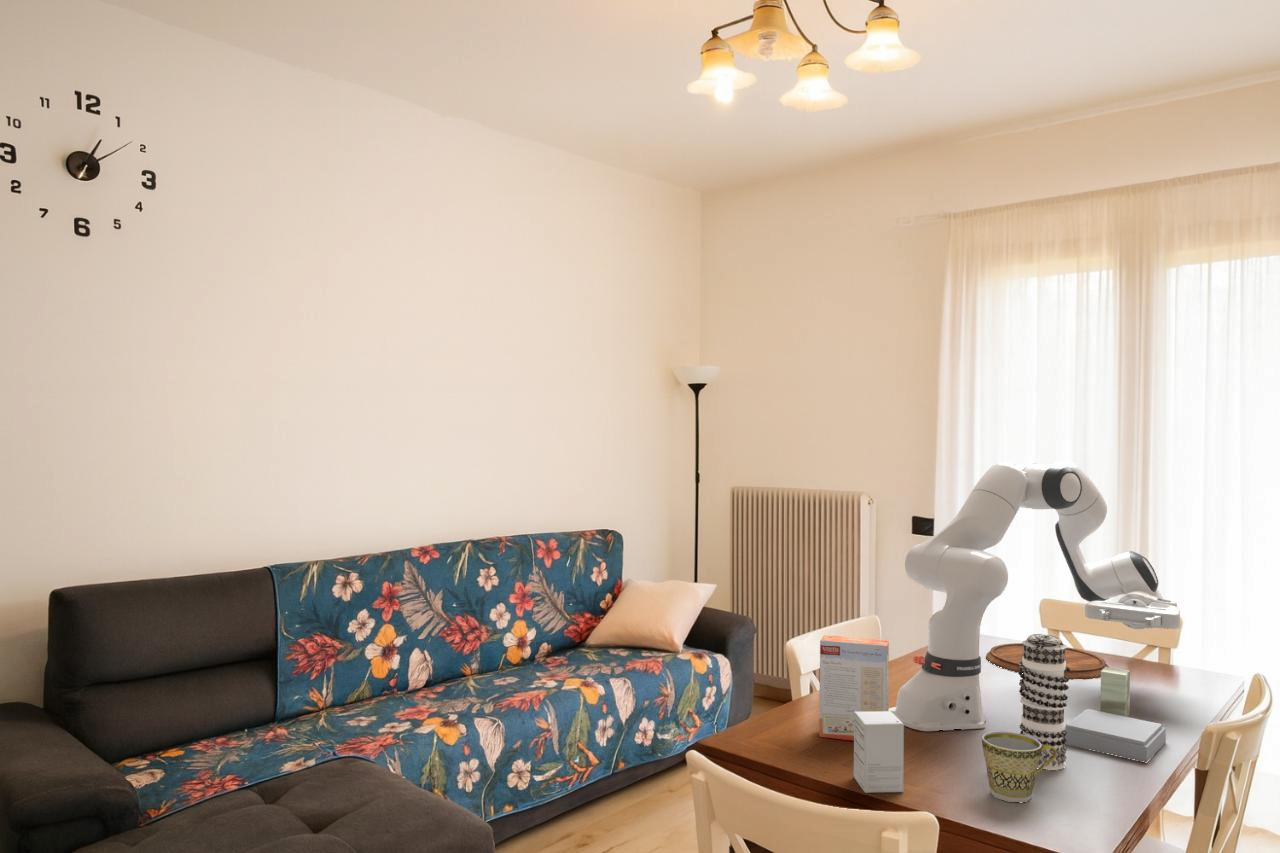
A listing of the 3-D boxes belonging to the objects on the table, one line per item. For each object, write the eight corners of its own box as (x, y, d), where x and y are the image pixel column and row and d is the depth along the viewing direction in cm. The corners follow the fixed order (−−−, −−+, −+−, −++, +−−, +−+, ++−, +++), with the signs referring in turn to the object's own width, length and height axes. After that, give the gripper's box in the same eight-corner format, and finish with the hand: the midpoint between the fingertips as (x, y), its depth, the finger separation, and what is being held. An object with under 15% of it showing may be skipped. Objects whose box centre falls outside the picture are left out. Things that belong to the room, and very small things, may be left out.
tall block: (1125, 729, 197) (1125, 675, 197) (1100, 724, 200) (1100, 671, 200) (1129, 723, 201) (1130, 670, 201) (1104, 719, 204) (1105, 666, 204)
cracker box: (888, 736, 191) (890, 639, 191) (886, 746, 185) (887, 645, 185) (822, 728, 195) (823, 633, 195) (818, 737, 190) (819, 639, 190)
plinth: (1146, 763, 177) (1147, 743, 177) (1061, 743, 188) (1061, 724, 188) (1165, 743, 189) (1165, 724, 189) (1084, 725, 200) (1084, 707, 200)
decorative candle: (1024, 750, 184) (1026, 629, 184) (1073, 761, 178) (1075, 636, 178) (1011, 763, 176) (1012, 636, 176) (1061, 775, 171) (1062, 644, 171)
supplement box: (891, 777, 169) (892, 710, 169) (904, 793, 161) (904, 723, 161) (852, 777, 168) (853, 710, 168) (863, 793, 161) (864, 723, 161)
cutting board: (961, 656, 260) (961, 648, 260) (1040, 646, 274) (1040, 638, 274) (1054, 686, 231) (1054, 676, 231) (1136, 673, 245) (1136, 664, 245)
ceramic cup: (992, 807, 156) (993, 749, 156) (973, 784, 166) (973, 730, 166) (1068, 809, 155) (1068, 751, 155) (1043, 786, 165) (1044, 732, 165)
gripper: (1090, 592, 228) (1078, 600, 217) (1184, 602, 215) (1175, 612, 204) (1090, 617, 228) (1078, 626, 217) (1183, 628, 215) (1175, 639, 204)
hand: (1126, 619), depth 211 cm, fingers open, 8 cm apart
